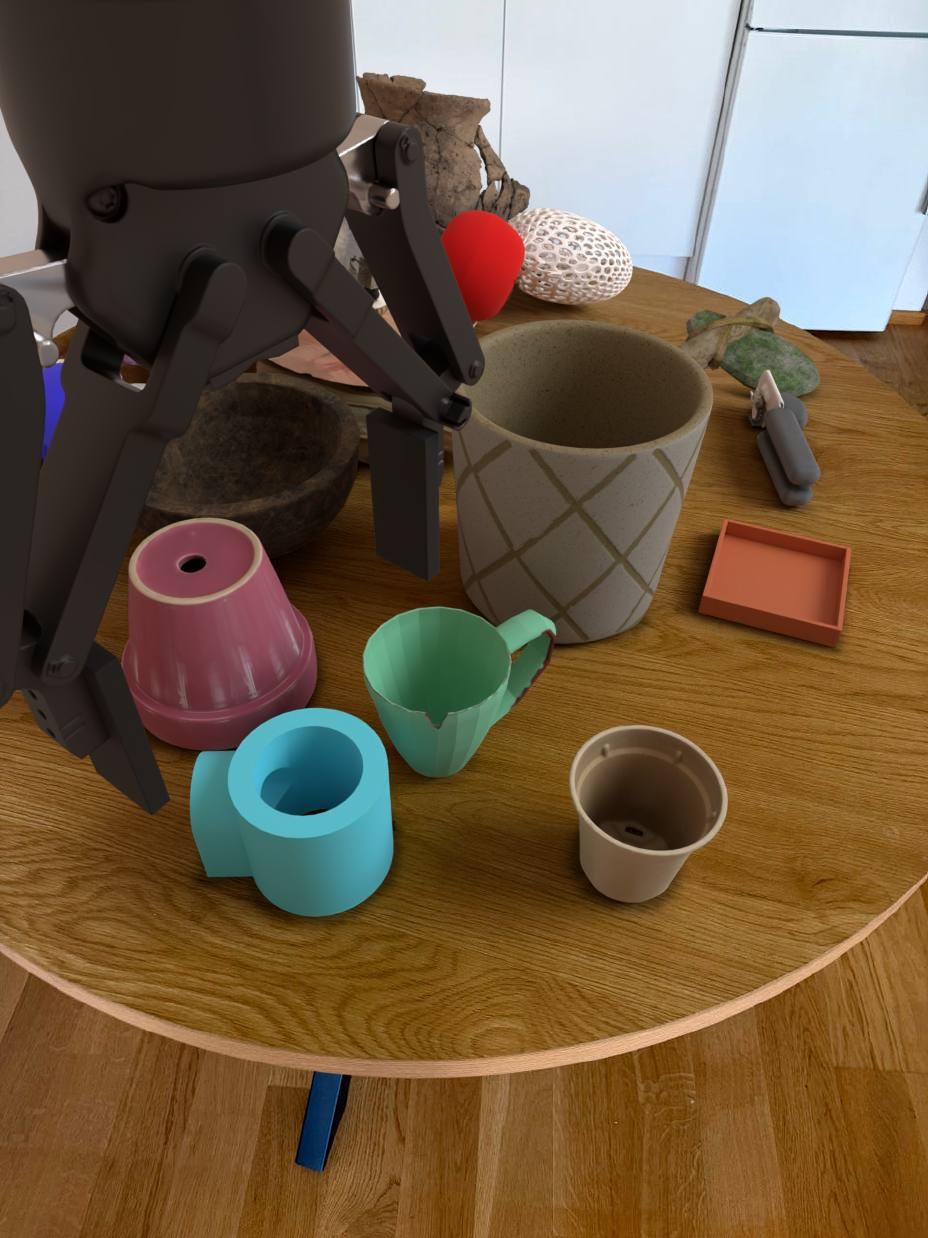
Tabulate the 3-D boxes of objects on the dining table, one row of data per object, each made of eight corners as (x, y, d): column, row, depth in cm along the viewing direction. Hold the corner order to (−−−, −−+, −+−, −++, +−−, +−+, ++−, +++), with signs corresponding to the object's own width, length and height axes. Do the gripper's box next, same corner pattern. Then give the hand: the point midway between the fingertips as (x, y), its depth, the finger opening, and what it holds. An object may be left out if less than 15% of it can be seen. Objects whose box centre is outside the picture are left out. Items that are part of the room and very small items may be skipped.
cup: (199, 919, 57) (169, 840, 51) (223, 792, 64) (199, 709, 57) (391, 915, 57) (385, 837, 51) (395, 790, 64) (390, 707, 58)
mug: (417, 831, 62) (413, 739, 55) (345, 736, 67) (334, 642, 60) (582, 736, 68) (598, 642, 61) (504, 656, 74) (510, 562, 67)
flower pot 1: (289, 632, 57) (308, 754, 66) (312, 496, 67) (326, 619, 76) (60, 630, 57) (110, 753, 66) (118, 493, 67) (154, 617, 76)
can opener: (737, 403, 101) (748, 362, 98) (795, 406, 101) (808, 365, 98) (766, 508, 88) (780, 465, 84) (833, 512, 88) (849, 468, 84)
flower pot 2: (680, 798, 64) (705, 720, 58) (715, 924, 57) (747, 851, 51) (548, 805, 63) (559, 726, 57) (567, 932, 57) (582, 859, 51)
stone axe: (577, 398, 94) (621, 253, 112) (568, 436, 98) (612, 290, 116) (827, 459, 92) (830, 300, 110) (808, 495, 95) (814, 336, 114)
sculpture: (509, 327, 100) (537, 183, 89) (406, 442, 85) (424, 285, 73) (314, 252, 105) (316, 106, 93) (182, 348, 90) (165, 187, 78)
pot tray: (844, 564, 82) (851, 547, 81) (834, 648, 75) (842, 630, 73) (719, 534, 85) (724, 517, 84) (697, 612, 78) (702, 595, 76)
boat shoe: (510, 399, 93) (492, 470, 97) (279, 337, 94) (272, 410, 98) (496, 427, 85) (478, 503, 89) (246, 359, 86) (239, 436, 91)
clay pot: (285, 235, 121) (303, 49, 111) (392, 238, 140) (416, 78, 129) (436, 284, 111) (471, 84, 101) (529, 280, 130) (567, 111, 119)
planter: (695, 650, 74) (754, 444, 60) (465, 672, 72) (470, 463, 58) (632, 508, 88) (667, 312, 74) (435, 523, 86) (434, 324, 72)
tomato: (467, 173, 102) (550, 215, 103) (443, 241, 113) (519, 278, 114) (430, 251, 98) (518, 294, 99) (409, 314, 109) (488, 352, 110)
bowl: (243, 648, 73) (222, 553, 66) (77, 541, 83) (43, 448, 76) (414, 517, 86) (412, 426, 79) (254, 436, 95) (239, 348, 88)
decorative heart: (568, 322, 108) (631, 319, 121) (595, 227, 102) (658, 235, 116) (450, 277, 115) (521, 278, 128) (470, 187, 110) (542, 198, 123)
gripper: (409, -138, 27) (423, 466, 41) (-770, -3, 12) (-103, 848, 27) (634, -116, 23) (562, 529, 38) (-601, 101, 9) (50, 1000, 24)
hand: (287, 662), depth 33 cm, fingers open, 13 cm apart
